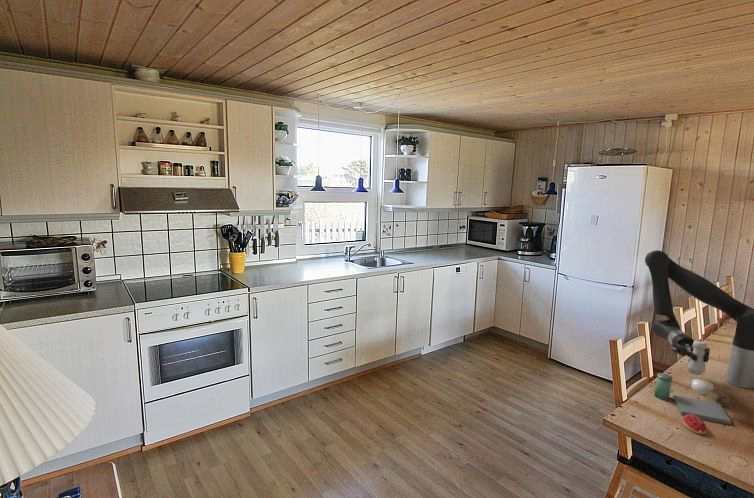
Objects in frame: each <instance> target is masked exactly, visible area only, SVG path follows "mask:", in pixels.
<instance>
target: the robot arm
mask: <svg viewBox="0 0 754 498" xmlns="http://www.w3.org/2000/svg"><path fill="white" fill-rule="evenodd" d="M644 262H645V265H646V266H647V267H648V270H649V273H650V276H651V283H652V299H653V307H654V312H655V315H657V316H665V317H667V319H663V320H662V319H661V320H655V321H654V322H653V323H652V324H651V329H652V331H653V333H654V334H655V335H656V336H657V337H659V338H661V339H664V340H667V341H668V343H669V344H670V345H671V351H672V352H674V353H676V354H678V355H680V356H682V357H685V356H686V357H687V358H689V359H690V358H691V359H693V360H694V361H697V355H696V354H694V353H692V352H693V350H694V346H693V342H694V341H696V340H694V338H692V337H691V336H690V335H689V334H687V333H686V332H684V331H683V330H681V325H680V324H679V322H678V320H677V317H676V315H675V312H674V308H673V301H672V300H673V299H672V295H671V290H670V284H669V280H670V281H672V282H673V283H675V284H676V285H677V286H678V287H679V288H681V289H682V290H684V291H685V292H686V293H687V294H689V295H690V296H692V297H694V298H695V299H697V301H700V302H702V303H704V304H706V305H708V306H710V307H712V308H715V309H717V310H719V311H721V312H723V313H724V314H725V315H727V316H728V317H730V318H731V319H732V320H733V321H734V322H736V327H735V332H734V337H733V339H732V345H731V348H730V350H731V351H730V354H729V355H730V357H729V361H728V367H727V370H726V372H727V373H726V378H725V381H726V382H727V383H729V384H730V385H733V386H736V387H739V388H743V389H754V308H753V307H750V306H749V305H746V304H745V303H743V302H741V301H739V300H737V299H736V298H734V297H733V296H731V295H730V294H729V293H728V292H726V291H725V290H724V289H722V288H720V287H719V286H717V285H716V284H714V283H713V282H711V281H710V280H708V279H707V278H705V277H703V276H701V275H699V274H698V273H695V272H694V271H691V270H690V269H687V268H685V267H683V266H681V265H680V264H678V263H677V262H675V261H674V260H672V259H671V258H670V257H669V256H668V254H667V253H666V252H664V251H663V250H653V251H652V250H651V251H649V252H647V254H646V255H645V258H644ZM704 353H705V355H704V362H705V363H708V362H709V358H710V353H711V352H710V348H709V347H707V348H706V349H704Z"/></svg>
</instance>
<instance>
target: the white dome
mask: <svg viewBox="0 0 754 498" xmlns="http://www.w3.org/2000/svg"><path fill="white" fill-rule="evenodd" d="M691 389H692V390H691ZM690 390H691V391H692V392H694V393H695V392H696V393H695V394H698V395H701V396H705V397H706V394H707V390H714V384H713V383H712V382H711V381H708V380H706V379H702V378H693V379H692V381H691V387H690Z"/></svg>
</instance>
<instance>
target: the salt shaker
mask: <svg viewBox="0 0 754 498" xmlns="http://www.w3.org/2000/svg"><path fill="white" fill-rule="evenodd" d="M693 346H694V350H693V352H692V353H694V354H696V355H697V361H694V360H693V359H691V358H690V357H689V360H688V361H687V364H686V368H687V370H688V373H690V374H692V375H695V376H701V375H703V374H704V372H705V371H706V362H704V355H705V353H704V349H706V348H708V344H707V343H706V342H704V341H702V340H695V341H694V342H693Z"/></svg>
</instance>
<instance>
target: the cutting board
mask: <svg viewBox="0 0 754 498" xmlns="http://www.w3.org/2000/svg"><path fill="white" fill-rule="evenodd" d="M672 399H673V401H674V404H675V405H676V406H677V407H676V408H677V409H678V411H679V413H680V415H681V416H684V417H685V416H686V415H689V414H692V415H695V416H697V417H698V418H700V419H701V420H704V421H710V422H714V423H720V424H725V425H729V426H730V425H731V424H732V420H731V419H730V417H729V416H728V414H727V413H726V411H725V410H724V408H723V406H721V405H720V404H719V403H714V402H709V401H708V400H702V399H698V398H692V397H688V396H687V397H686V396H682V395H681V396H680V395H675V394H673V396H672Z"/></svg>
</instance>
